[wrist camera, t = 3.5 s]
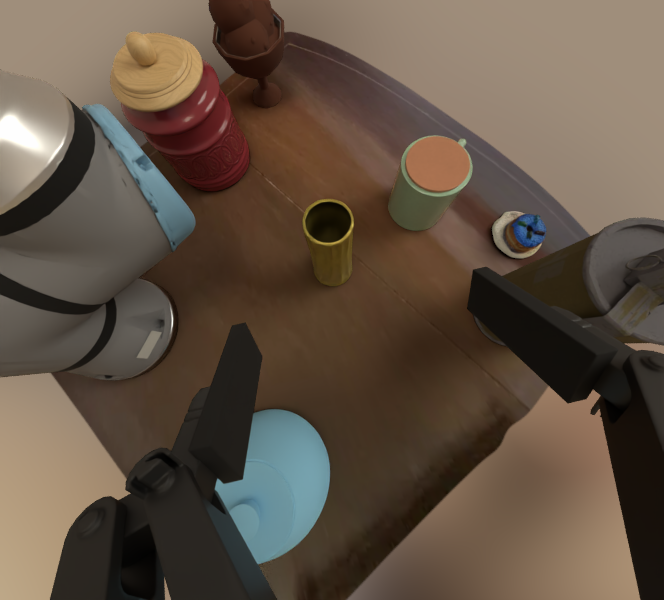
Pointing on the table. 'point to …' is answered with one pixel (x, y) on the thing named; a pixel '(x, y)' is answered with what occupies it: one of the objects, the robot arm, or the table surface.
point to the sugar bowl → (278, 484)
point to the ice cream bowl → (250, 42)
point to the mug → (428, 181)
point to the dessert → (519, 234)
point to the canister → (605, 281)
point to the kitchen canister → (180, 109)
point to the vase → (329, 240)
